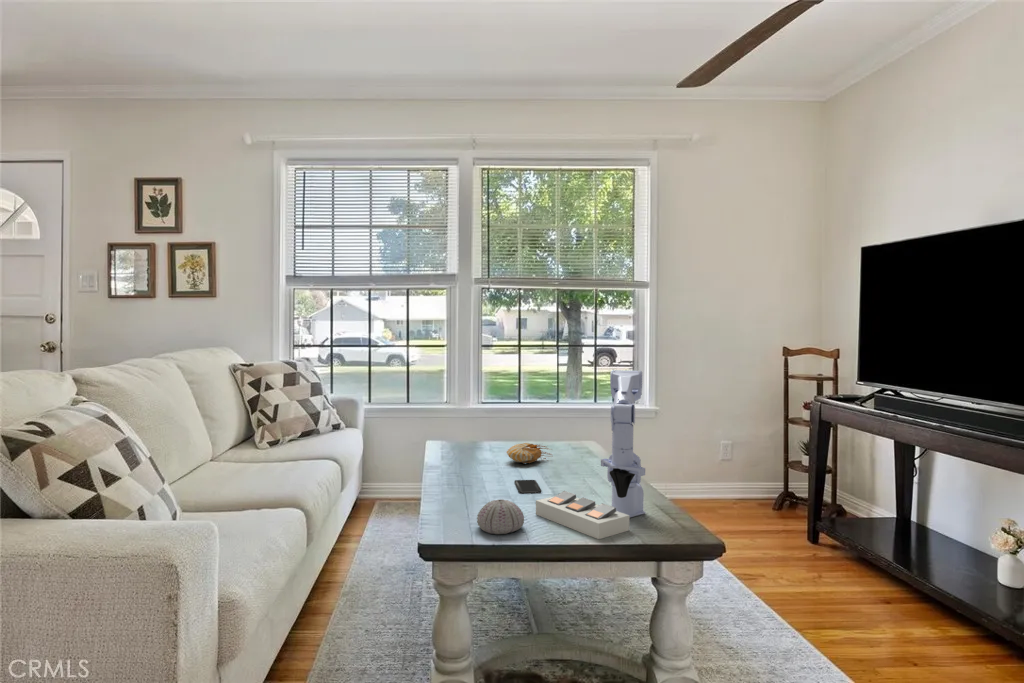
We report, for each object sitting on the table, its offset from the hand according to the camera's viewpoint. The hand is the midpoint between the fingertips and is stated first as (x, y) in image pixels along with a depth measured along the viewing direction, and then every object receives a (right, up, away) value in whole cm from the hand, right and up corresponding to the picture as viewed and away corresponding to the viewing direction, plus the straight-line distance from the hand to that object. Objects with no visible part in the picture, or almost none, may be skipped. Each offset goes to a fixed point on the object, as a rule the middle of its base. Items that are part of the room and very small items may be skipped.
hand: (621, 496), depth 162 cm
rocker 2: (-6, -5, +1) cm, 8 cm away
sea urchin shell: (-33, -9, +1) cm, 35 cm away
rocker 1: (-15, -5, +14) cm, 21 cm away
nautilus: (-22, -8, +84) cm, 87 cm away
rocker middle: (-10, -5, +7) cm, 14 cm away
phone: (-25, -9, +44) cm, 51 cm away
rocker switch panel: (-10, -9, +7) cm, 16 cm away
